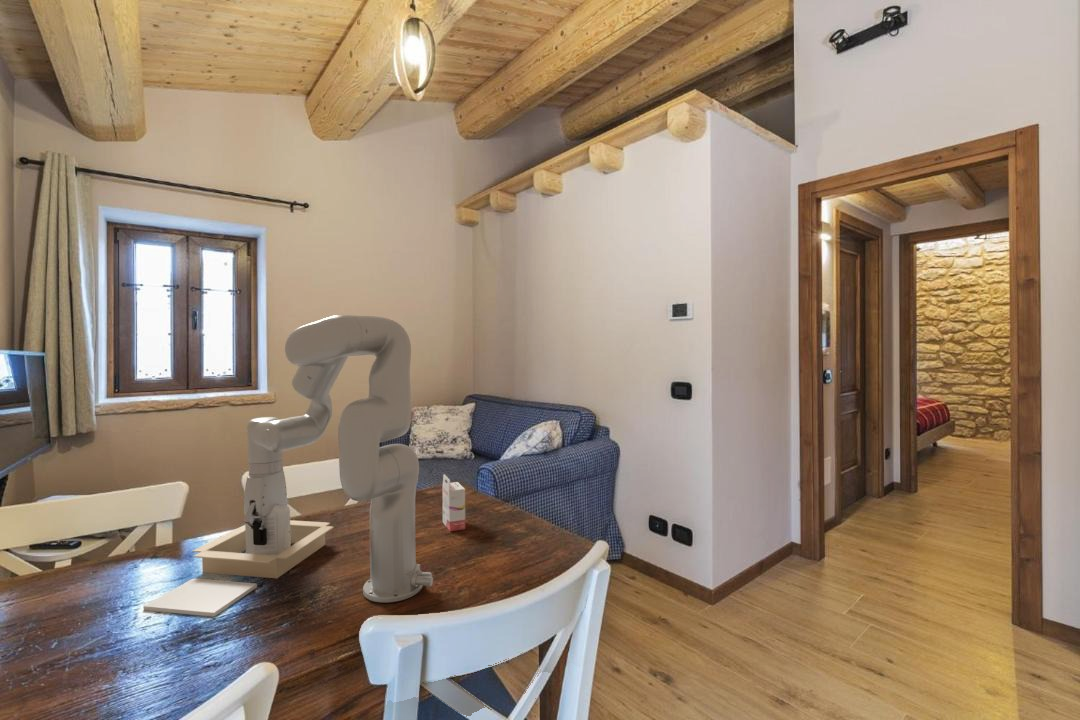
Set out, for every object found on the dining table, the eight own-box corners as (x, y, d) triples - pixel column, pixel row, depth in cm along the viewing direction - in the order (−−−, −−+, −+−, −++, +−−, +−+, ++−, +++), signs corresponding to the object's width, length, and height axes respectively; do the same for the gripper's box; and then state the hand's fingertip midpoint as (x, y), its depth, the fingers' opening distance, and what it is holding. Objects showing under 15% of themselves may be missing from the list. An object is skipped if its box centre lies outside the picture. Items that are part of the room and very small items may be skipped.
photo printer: (293, 548, 129) (292, 500, 129) (287, 555, 125) (285, 505, 124) (250, 550, 128) (249, 502, 127) (243, 558, 124) (241, 507, 123)
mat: (257, 587, 112) (256, 583, 112) (213, 616, 100) (213, 612, 100) (193, 581, 114) (192, 578, 114) (143, 610, 102) (143, 606, 102)
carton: (339, 541, 137) (338, 523, 137) (279, 584, 113) (279, 562, 113) (258, 536, 141) (257, 518, 140) (184, 576, 117) (183, 555, 116)
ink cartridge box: (466, 529, 145) (466, 478, 145) (449, 532, 143) (449, 480, 143) (458, 519, 153) (457, 471, 153) (442, 522, 151) (441, 473, 150)
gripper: (275, 459, 135) (277, 526, 135) (226, 476, 118) (229, 553, 118) (301, 459, 134) (303, 527, 134) (255, 477, 117) (258, 554, 117)
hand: (268, 539), depth 126 cm, fingers closed on photo printer, 5 cm apart
